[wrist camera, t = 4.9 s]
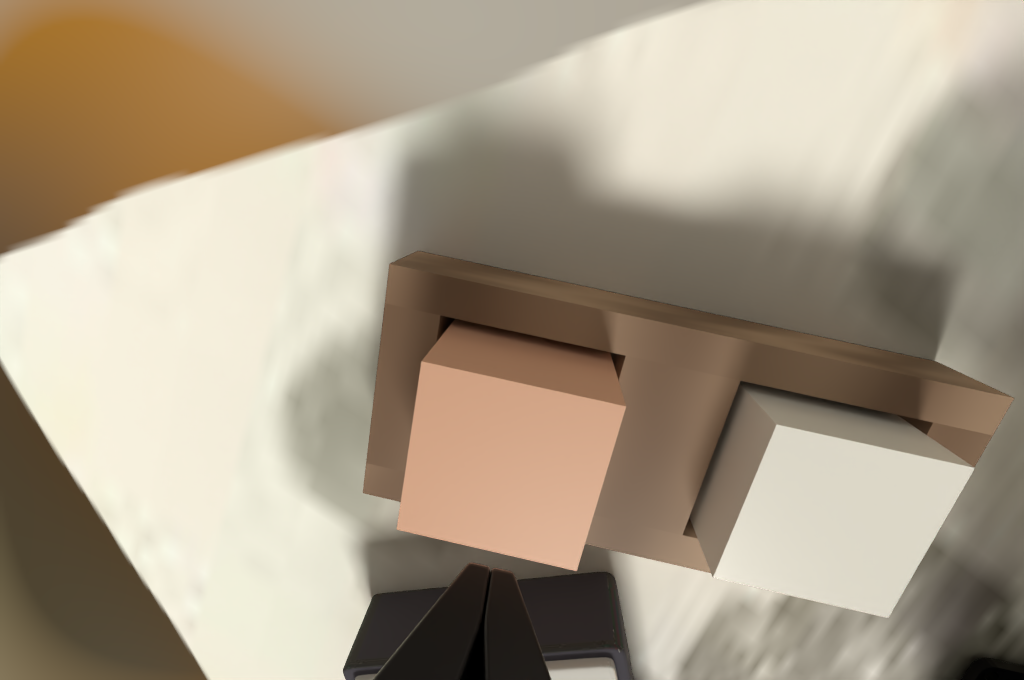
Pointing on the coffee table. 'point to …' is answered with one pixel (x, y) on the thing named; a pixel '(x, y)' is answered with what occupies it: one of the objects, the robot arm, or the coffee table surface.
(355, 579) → the coffee table surface
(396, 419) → the key panel
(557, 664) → the calculator
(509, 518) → the tan wooden block
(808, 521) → the cream key
